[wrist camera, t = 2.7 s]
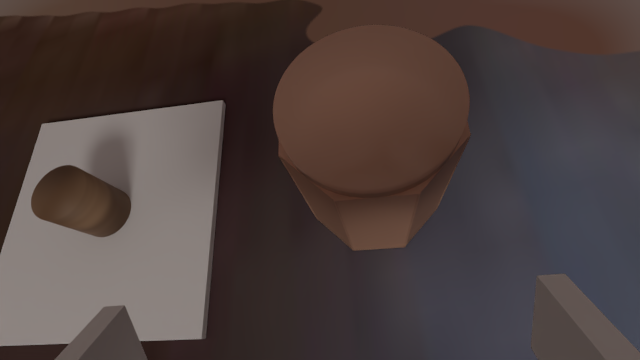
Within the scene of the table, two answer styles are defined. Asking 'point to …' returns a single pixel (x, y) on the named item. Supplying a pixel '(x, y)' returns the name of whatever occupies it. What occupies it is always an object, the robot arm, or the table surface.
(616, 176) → the table surface
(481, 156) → the table surface
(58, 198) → the walnut block
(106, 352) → the robot arm
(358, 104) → the brown faceted jar
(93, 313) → the mat
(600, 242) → the table surface
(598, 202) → the table surface
